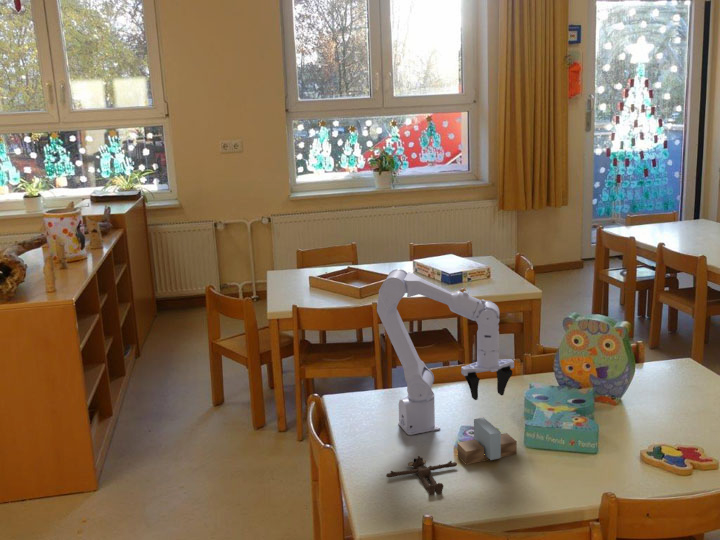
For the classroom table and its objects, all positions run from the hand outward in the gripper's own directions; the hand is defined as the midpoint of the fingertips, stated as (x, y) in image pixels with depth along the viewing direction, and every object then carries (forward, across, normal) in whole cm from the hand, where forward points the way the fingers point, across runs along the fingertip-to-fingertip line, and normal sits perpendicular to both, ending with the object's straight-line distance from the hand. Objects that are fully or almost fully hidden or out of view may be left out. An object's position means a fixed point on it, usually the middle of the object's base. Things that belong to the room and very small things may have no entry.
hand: (487, 396), depth 202 cm
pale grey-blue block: (+9, -6, -12) cm, 16 cm away
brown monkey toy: (+11, -25, -18) cm, 32 cm away
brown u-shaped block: (+10, -6, -12) cm, 17 cm away
